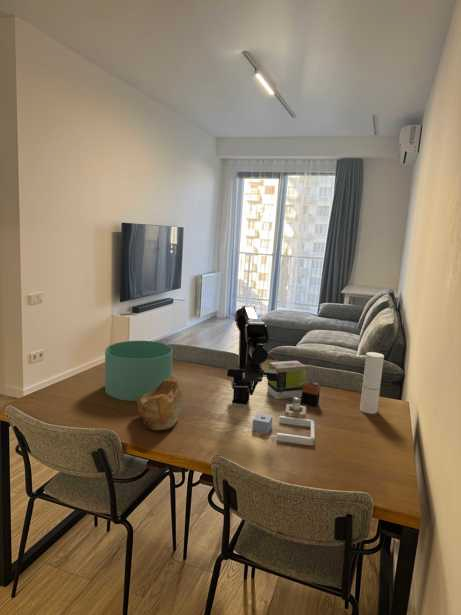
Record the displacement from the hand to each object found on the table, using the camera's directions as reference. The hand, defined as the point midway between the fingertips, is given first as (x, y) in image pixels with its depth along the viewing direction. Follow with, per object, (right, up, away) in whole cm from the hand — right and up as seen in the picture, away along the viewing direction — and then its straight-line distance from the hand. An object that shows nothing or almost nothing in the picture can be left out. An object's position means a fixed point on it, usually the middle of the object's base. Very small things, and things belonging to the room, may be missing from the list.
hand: (251, 394), depth 160 cm
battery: (+27, -10, +26) cm, 38 cm away
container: (-50, -4, +32) cm, 60 cm away
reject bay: (+16, -14, -3) cm, 21 cm away
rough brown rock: (-36, -10, +2) cm, 38 cm away
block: (+4, -13, -1) cm, 13 cm away
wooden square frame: (+18, -12, +10) cm, 24 cm away
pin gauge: (+18, -11, +10) cm, 23 cm away
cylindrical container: (+52, -12, +23) cm, 58 cm away
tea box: (+18, -7, +35) cm, 40 cm away
